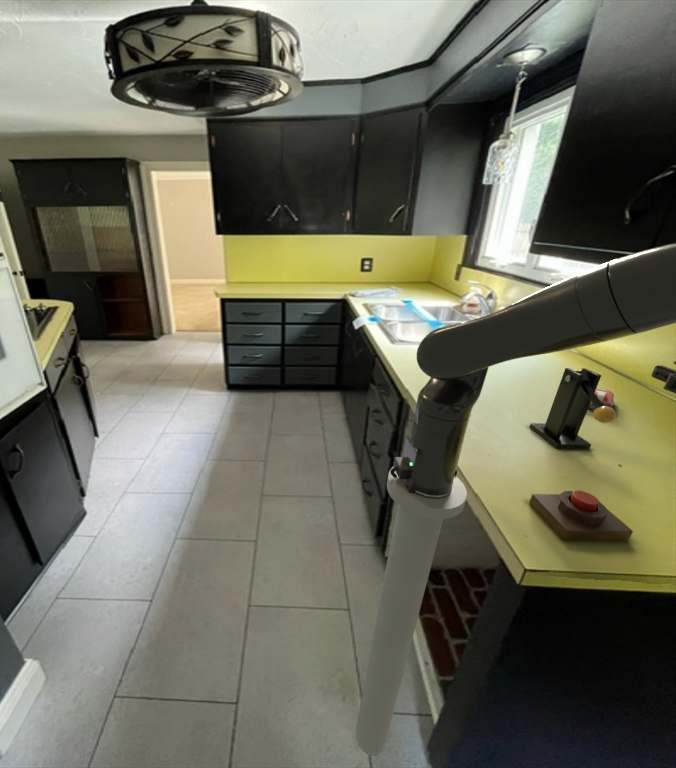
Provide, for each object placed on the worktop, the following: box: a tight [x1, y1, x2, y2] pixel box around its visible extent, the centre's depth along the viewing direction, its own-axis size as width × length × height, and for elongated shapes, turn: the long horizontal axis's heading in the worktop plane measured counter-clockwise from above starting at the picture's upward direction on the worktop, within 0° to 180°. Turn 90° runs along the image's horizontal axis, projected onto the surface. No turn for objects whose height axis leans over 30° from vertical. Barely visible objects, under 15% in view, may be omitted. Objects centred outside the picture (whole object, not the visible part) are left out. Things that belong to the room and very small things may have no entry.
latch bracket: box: [529, 367, 602, 450], centre depth 87 cm, size 10×8×18 cm
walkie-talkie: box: [588, 387, 615, 411], centre depth 105 cm, size 9×4×20 cm
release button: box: [570, 490, 600, 512], centre depth 63 cm, size 4×4×2 cm
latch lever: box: [575, 370, 617, 424], centre depth 81 cm, size 13×4×4 cm, turn 0°
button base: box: [528, 490, 634, 542], centre depth 64 cm, size 11×9×4 cm
